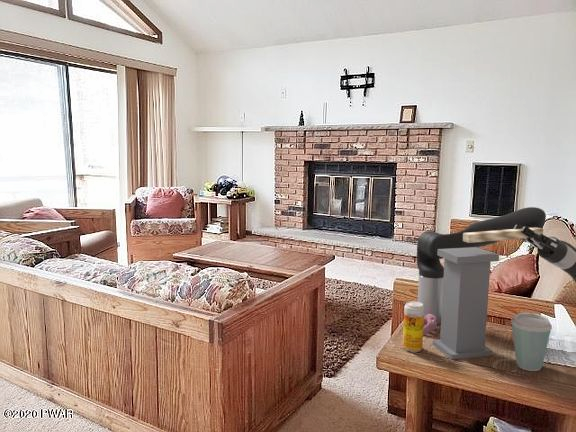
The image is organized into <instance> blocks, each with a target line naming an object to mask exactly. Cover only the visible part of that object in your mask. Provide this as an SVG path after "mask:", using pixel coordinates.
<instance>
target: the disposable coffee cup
mask: <svg viewBox="0 0 576 432" xmlns="http://www.w3.org/2000/svg"><path fill="white" fill-rule="evenodd" d="M510 323H511V328H512V338H513V345H514V355H515V362H516V364H517V367H518V368H520V369H521V370H525V371H529V372H538V371H540V370H541V369H542V367H543V365H544V361H545V356H546V351H547V348H548V345H549V339H550V334H551V331H552V329H553V328H552V327H553V326H552V324H551V322H550V320H549V319H548V318H547V317H546V316H544V315H542V314H538V313H533V312H520V313H519V312H518V313H516V314H515V315H514V316H513V317H512V318H511V320H510Z"/></svg>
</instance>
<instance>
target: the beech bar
mask: <svg viewBox="0 0 576 432" xmlns="http://www.w3.org/2000/svg"><path fill="white" fill-rule="evenodd" d="M522 229H523V228H521V229H507V230H495V231H482V232H469V233H463V241H464V242H467V243H473V242H485V241H497V240H500V241H508V240H509V241H510V240H522V239H521V238H529V237H528V236H526V235H525V234H523V233H522V232H521V230H522ZM529 229H531V230H532V231H534V232H537V233H538V234H543V235H544V228H543V229H542V228H537V227H533V228H529Z"/></svg>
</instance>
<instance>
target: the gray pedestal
mask: <svg viewBox="0 0 576 432" xmlns="http://www.w3.org/2000/svg"><path fill="white" fill-rule="evenodd" d="M437 255H438V256H440V257H443V259H444V262H443V263H444V264H443V267H444V278H443V296H442V315H441V323H440V335H439V338H440V339H434V340H432V346H434V347H435V348H436V349H437V350H439V351H440V352H441V353H443V354H444V355H445V356H446V357H447V358H449V359H451V360H460V359H468V358H469V359H470V358H478V357H488V356H493V350H492V349H490V348H489V347H488V346H486V336H487V335H486V334H487V333H486V332H487V319H488V307H489V305H488V304H489V293H490V292H489V289H490V278H491V277H490V276H491V274H490V273H491V263H493V262H499V259H500V254H498V253H495V252H492V251H489V250H486V249H483V248H481V247H469V248H449V249H438V251H437Z"/></svg>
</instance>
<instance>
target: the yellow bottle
mask: <svg viewBox="0 0 576 432" xmlns="http://www.w3.org/2000/svg"><path fill="white" fill-rule="evenodd" d="M403 310H404V311H403V312H404V313H403V330H402V331H403V332H402V347H403V348H404V350H406V351H407V352H409V351H410V352H409V353H419V352H421V350H422V349H423V342H424V335H423V327H424V326H425V325H424V306H423V304H422V303H420V302H418V301H415V300H413V301H411V300H409V301H406V303H405V305H404V309H403ZM423 325H424V326H423Z"/></svg>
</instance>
